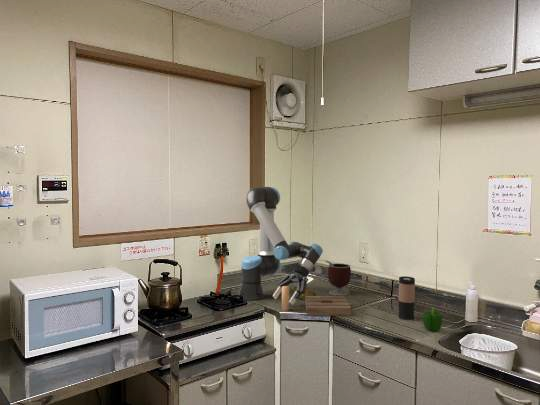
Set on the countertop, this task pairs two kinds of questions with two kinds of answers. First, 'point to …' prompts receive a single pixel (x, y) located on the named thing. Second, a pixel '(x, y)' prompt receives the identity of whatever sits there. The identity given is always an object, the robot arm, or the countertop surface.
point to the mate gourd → (339, 277)
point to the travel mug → (406, 297)
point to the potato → (307, 293)
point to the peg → (285, 298)
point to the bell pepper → (432, 320)
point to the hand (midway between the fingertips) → (282, 300)
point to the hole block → (327, 305)
